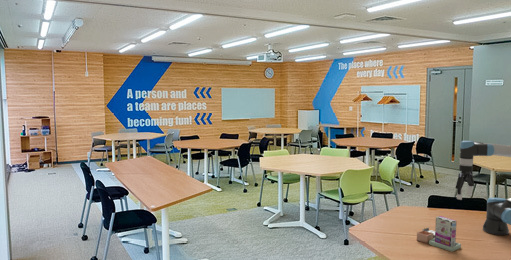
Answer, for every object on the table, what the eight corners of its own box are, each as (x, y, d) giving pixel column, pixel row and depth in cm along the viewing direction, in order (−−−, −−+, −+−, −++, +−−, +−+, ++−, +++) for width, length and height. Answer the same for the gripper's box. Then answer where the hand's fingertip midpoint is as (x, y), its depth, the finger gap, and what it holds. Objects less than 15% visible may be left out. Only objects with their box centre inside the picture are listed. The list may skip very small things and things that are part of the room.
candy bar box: (455, 247, 236) (457, 220, 235) (450, 248, 234) (451, 221, 232) (439, 240, 246) (440, 215, 245) (434, 242, 244) (435, 216, 242)
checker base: (427, 233, 262) (427, 226, 261) (451, 240, 249) (451, 233, 249) (422, 235, 258) (422, 228, 257) (446, 242, 245) (446, 235, 245)
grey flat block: (430, 231, 260) (430, 229, 260) (447, 236, 250) (447, 235, 250) (425, 233, 256) (425, 231, 256) (443, 238, 247) (443, 237, 247)
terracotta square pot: (422, 237, 254) (422, 230, 253) (433, 241, 248) (433, 233, 248) (416, 240, 249) (417, 232, 249) (427, 243, 244) (427, 235, 243)
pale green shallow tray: (437, 240, 249) (437, 236, 249) (460, 247, 237) (460, 243, 237) (428, 244, 243) (429, 240, 242) (452, 251, 231) (452, 247, 231)
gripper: (469, 161, 259) (467, 193, 261) (450, 166, 244) (448, 199, 246) (481, 163, 253) (479, 195, 256) (462, 168, 238) (461, 202, 240)
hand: (464, 197), depth 251 cm, fingers open, 13 cm apart
